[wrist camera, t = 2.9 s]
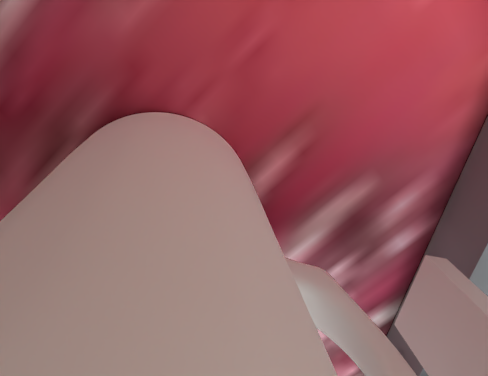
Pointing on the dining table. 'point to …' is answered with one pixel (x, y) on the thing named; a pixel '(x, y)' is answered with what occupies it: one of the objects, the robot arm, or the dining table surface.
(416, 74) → the dining table surface
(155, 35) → the dining table surface
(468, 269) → the rack
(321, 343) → the mug
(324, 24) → the dining table surface
